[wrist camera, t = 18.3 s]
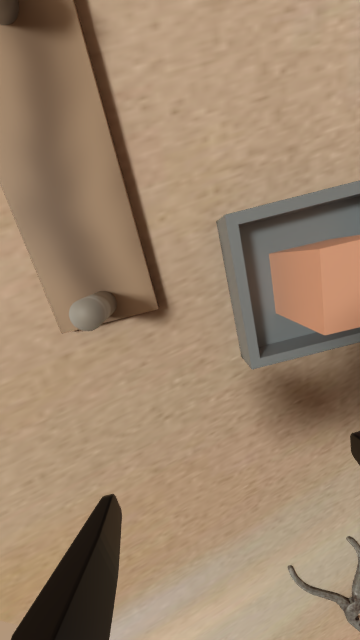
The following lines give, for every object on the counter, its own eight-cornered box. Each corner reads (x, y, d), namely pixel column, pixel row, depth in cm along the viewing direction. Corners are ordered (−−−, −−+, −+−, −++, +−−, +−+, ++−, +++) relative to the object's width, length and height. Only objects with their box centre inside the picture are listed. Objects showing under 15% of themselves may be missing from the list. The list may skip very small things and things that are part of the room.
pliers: (345, 533, 26) (419, 601, 31) (340, 525, 27) (413, 592, 32) (282, 576, 28) (362, 635, 32) (279, 567, 29) (357, 625, 33)
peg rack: (66, -29, 13) (8, -198, 8) (158, 306, 19) (156, 322, 14) (-64, 5, 13) (-197, -145, 8) (67, 330, 19) (32, 353, 14)
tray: (363, 184, 17) (395, 171, 15) (366, 325, 20) (393, 333, 18) (216, 221, 17) (224, 214, 15) (241, 356, 20) (251, 369, 18)
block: (329, 239, 18) (410, 227, 12) (332, 299, 19) (406, 315, 13) (268, 253, 18) (319, 249, 12) (275, 313, 19) (324, 335, 13)
